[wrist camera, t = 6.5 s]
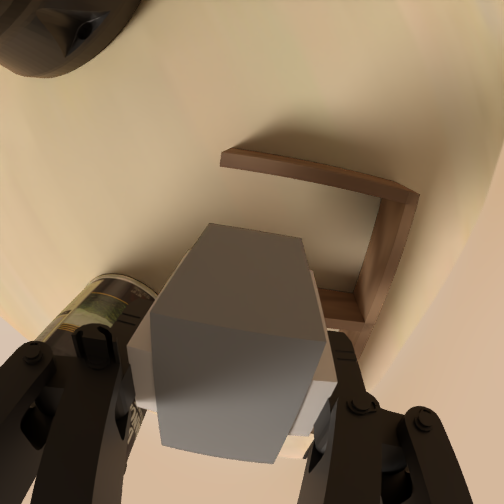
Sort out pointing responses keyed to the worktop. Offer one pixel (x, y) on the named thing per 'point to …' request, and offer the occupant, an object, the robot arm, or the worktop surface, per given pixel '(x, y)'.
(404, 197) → the comb rack
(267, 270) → the grey block
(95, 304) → the coffee can
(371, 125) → the worktop surface
